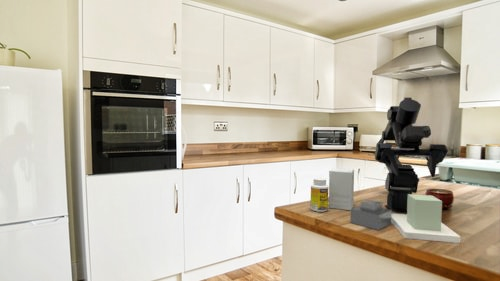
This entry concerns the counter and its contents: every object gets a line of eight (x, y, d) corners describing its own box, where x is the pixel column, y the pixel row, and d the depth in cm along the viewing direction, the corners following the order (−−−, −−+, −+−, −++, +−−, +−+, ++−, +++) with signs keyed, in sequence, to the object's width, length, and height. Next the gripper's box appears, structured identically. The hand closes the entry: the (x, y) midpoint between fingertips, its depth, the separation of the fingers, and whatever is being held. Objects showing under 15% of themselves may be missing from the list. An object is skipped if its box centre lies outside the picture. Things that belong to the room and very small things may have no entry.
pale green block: (406, 221, 79) (407, 194, 78) (431, 223, 78) (432, 195, 77) (414, 229, 73) (415, 199, 73) (440, 231, 72) (442, 201, 71)
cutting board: (388, 218, 86) (388, 213, 86) (432, 221, 84) (433, 216, 84) (404, 238, 71) (405, 232, 71) (460, 243, 68) (460, 236, 68)
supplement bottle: (319, 213, 90) (320, 180, 90) (306, 209, 95) (307, 178, 94) (331, 210, 93) (332, 179, 93) (318, 206, 98) (319, 176, 97)
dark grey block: (363, 216, 87) (364, 197, 87) (391, 223, 81) (391, 202, 81) (350, 222, 82) (351, 201, 82) (378, 230, 76) (379, 207, 76)
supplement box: (353, 205, 100) (354, 169, 99) (351, 211, 93) (352, 172, 93) (332, 202, 103) (332, 167, 103) (328, 207, 97) (328, 170, 96)
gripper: (377, 116, 88) (385, 156, 78) (446, 116, 84) (464, 158, 74) (371, 141, 96) (378, 180, 86) (434, 142, 92) (448, 183, 82)
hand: (415, 175), depth 82 cm, fingers open, 9 cm apart
